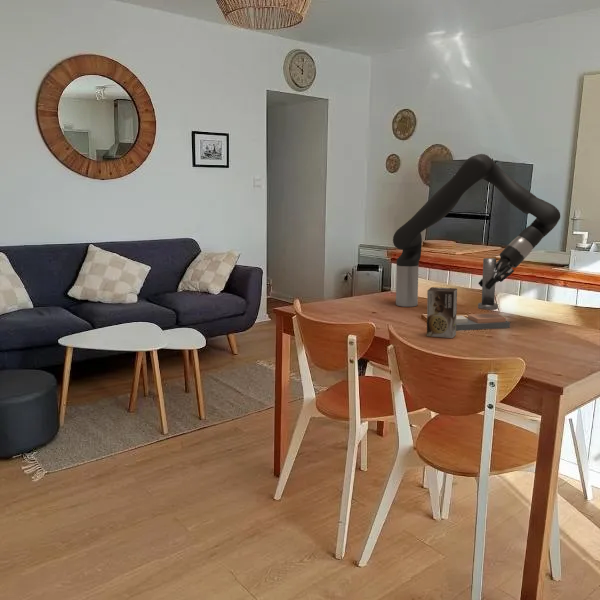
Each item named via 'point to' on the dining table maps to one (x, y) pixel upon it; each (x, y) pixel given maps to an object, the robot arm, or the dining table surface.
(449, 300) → the coffee box
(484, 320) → the button
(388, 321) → the dining table surface
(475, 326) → the button board
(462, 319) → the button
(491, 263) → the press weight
